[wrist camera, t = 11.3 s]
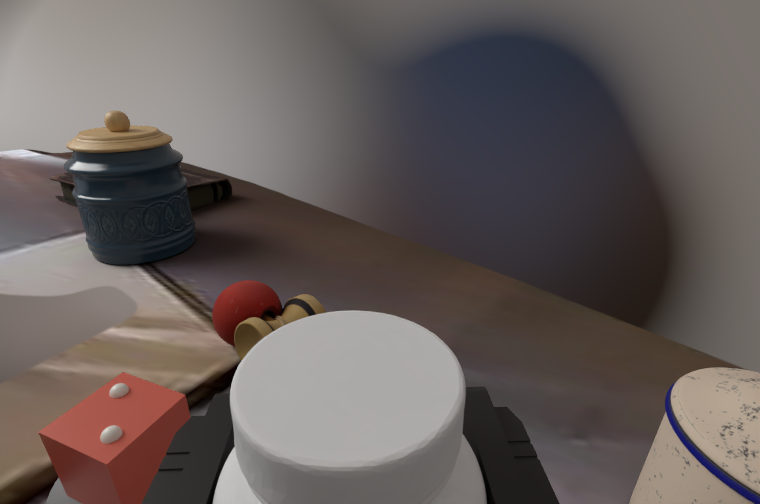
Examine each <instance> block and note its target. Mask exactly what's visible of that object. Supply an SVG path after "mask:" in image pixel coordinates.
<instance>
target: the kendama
mask: <svg viewBox="0 0 760 504" xmlns="http://www.w3.org/2000/svg"><path fill="white" fill-rule="evenodd" d="M322 313H326V312H325V309H324V308H323V306H322V305H321V303H320V302H319V301H318V300H317V299H315V298H314V297H312V296H310V295H307V294H303V295H299V296H296V297H293V298H291V299H289V300H288V301H287V302H286V304H285V306H284V308H283V309H282V305H281V302H280V300H279V297H278V296H277V294H276V293H275V292H274V291H273V290H272V289H271V288H270V287H269V286H267V285H266V284H264V283H261V282H258V281H250V280H248V281H240V282H237V283H234V284H232V285H231V286H229V287H227V288H226V289H225V290H224V291H223V292H222V293H221V294H220V295H219V297H218V298H217V300H216V302H215V305H214V308H213V314H212V317H213V324H214V327H215V329H216V331H217V333H218V334H219V336H220V337H221V338H222V339H223V340H224V341H225V342H227V343H229V344H230V345H233V346H235V347H236V350H237V353H238V355H239V357H240V359H241V360H243V358H244V357H245V356H246V355H247V353H248V352H249V351H250V350H251V349H252V348H253V347H254V346H255V345H256V344H257V343H258V342H259V341H260V340H262V339H263V338H264V337H266V336H267V335H269V334H270V333H272V332H273V331H275V330H277V329H279V328H280V327H282V326H284V325H287V324H289V323H291V322H294V321H297V320H299V319H302V318H305V317H309V316H313V315H317V314H322Z"/></svg>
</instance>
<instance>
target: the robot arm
mask: <svg viewBox="0 0 760 504" xmlns="http://www.w3.org/2000/svg"><path fill="white" fill-rule="evenodd" d="M462 434H463V435H464V436H465V438H466V440H467V441H468V443H469V445H470V446H471V448H472V450H473V452H474V454H475V456H476V459H477V461H478V464H479V466H480V469H481V472H482V476H483V480H484V484H485V489H486V495H487V504H559V502H558V500H557V497H556V495H555V493H554V491H553V489H552V487H551V484H550V482H549V480H548V478H547V476H546V474H545V471H544V469H543V467H542V465H541V463H540V461H539V460H538V459H537V454H536V452H535V450H534V448H533V445H532V444H531V443H530V439H529V437H528V435H527V432H526V430H525V428H524V426H523V424H522V422H521V421H520V420H519V419H518V418H517V417H516V416H515V415H514V414H513V413H512V412H511V411H510V410H509V409H508V408H507V407H494V406H493V404H492V401H491V399H490V396H489V394H488V392H487V390H486V388H485V387H466V398H465V407H464V418H463V432H462ZM234 447H235V444H234V429H233V421H232V415H231V408H230V393H229V394H215V395H214V397H213V399H212V401H211V403H210V406H209V408H208V411H207V413H206V415H205V416H192V417H191V418H190V419H189V420H188V421H187V422H186V423H185V424H184V425H183V426H182V427H181V428H180V429H179V430H178V431H177V432H176V433H175V435H174V437H173V439H172V441H171V444H170V446H169V448H168V450H167V452H166V456H165V457H164V458H163V460H162V462H161V464H160V466H159V468H158V473H156V475H155V477H154V479H153V481H152V483H151V485H150V487H149V489H148V491H147V493H146V496H145V498H144V500H143V502H142V504H212V503H213V498H214V493H215V489H216V486H217V483H218V479H219V476H220V474H221V471H222V469H223V466H224V464H225V462H226V460H227V458H228V456H229V454H230V453H231V451H232V450H233V448H234Z"/></svg>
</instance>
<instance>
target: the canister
mask: <svg viewBox="0 0 760 504" xmlns="http://www.w3.org/2000/svg"><path fill="white" fill-rule="evenodd" d="M105 125H106V127H102V128H95V129H89V130H85V131H82V132H79V134H78V135H77V137H75V138H74V139H72V140H71V141H70V142H69V143H67V148H68V149H70V150H72V151H73V156H72V158H70V159H69V160H68V161H67V162H66V163H65V164H64V169H65V170H66V171H67V172H69V173H71V174H72V176H73V180H74V186H75V188H74V189H73V191H72V195H73V197H74V198H75V199H76V202H77V206H78V209H79V212H80V216H81V219H82V222H83V226H84V229H85V232H86V241H87V243H88V248H89V249H90V250H91V251H92V253H93V256H94V257H95V258H96V259H97V260H99V261H101V262H105V263H109V264H119V265H129V264H141V263H147V262H152V261H157V260H161V259H164V258H168V257H171V256H173V255H176V254H178V253H180V252H182V251H184V250H186V249H187V248H189V247H190V246H191V245H192V244H193V243H194V241H195V232H196V227H195V222H194V220H193V218H192V213H191V207H190V202H189V196H188V191H187V180H186V178H185V177H183V176H182V173H181V169H180V162H181V161H182V159H183V156H182V154H181V153H179V152H178V151H176V150H173V149H172V148H171V146H170V144H169V143H170V142H171V141H172V137H171V136H169V135H167V134H165V133H163V132H161V131H159V130H158V129H157V128H155V127H149V126H130V122H129V119H128V117H127V116H126V114H124V113H123V112H121V111H110V112H108V113H107V114H106V116H105Z"/></svg>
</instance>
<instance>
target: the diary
mask: <svg viewBox="0 0 760 504" xmlns="http://www.w3.org/2000/svg"><path fill="white" fill-rule="evenodd" d="M180 169H181V173H182V176H183V177H185V178H186V180H187V191H188V196H189V202H190V207H191V210H193V209H196V208H199V207H202V206H205V205H208V204H211V203H213V201H217V202H219V200H220V198H225V199H229V200H230V199H231V197H232V186H231V184H230V182H229V180H228V179H227V178H223V177H217V176H211V175H206V174H201V173H197V172H193V171H190V170H186V169H182V168H180ZM50 179H51V180H55V181H59V182H60V183H61V187H62V190H63V194H64V196H55V197H56V198H57V199H59V200H60V201H62V202H65V203H67V204H70V205H73V206H75V207H78V206H77V202H76V199H75V198H74V197H73V195H72V191H73V189H74V188H75V186H74V180H73V176H72V174H71V173H69V172H68V173H64V174H59V175H55V176H53V177H51V178H50Z"/></svg>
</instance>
